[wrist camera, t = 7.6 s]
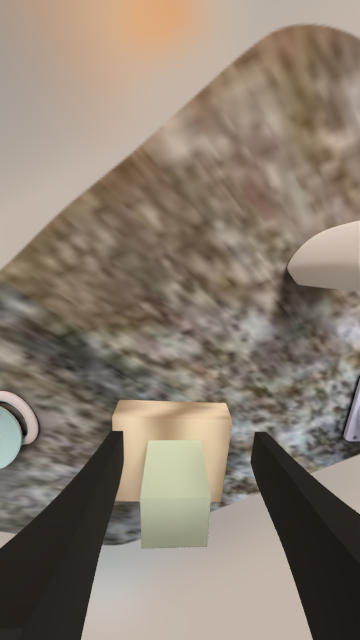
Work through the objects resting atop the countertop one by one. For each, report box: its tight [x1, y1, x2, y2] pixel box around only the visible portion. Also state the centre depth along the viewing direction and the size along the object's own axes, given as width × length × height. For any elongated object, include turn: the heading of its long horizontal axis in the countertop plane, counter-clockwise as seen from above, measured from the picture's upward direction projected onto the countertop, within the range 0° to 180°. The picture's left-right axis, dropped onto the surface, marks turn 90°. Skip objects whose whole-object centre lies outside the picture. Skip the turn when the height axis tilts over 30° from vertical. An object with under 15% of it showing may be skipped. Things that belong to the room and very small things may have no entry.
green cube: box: [140, 440, 211, 548], centre depth 17 cm, size 5×5×5 cm
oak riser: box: [112, 400, 232, 502], centre depth 21 cm, size 11×10×3 cm
